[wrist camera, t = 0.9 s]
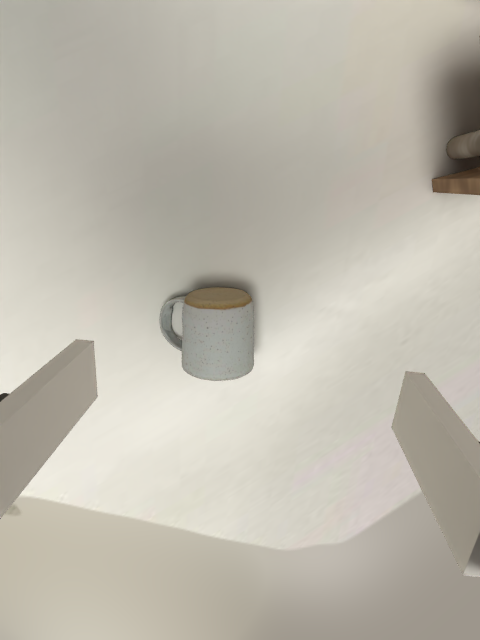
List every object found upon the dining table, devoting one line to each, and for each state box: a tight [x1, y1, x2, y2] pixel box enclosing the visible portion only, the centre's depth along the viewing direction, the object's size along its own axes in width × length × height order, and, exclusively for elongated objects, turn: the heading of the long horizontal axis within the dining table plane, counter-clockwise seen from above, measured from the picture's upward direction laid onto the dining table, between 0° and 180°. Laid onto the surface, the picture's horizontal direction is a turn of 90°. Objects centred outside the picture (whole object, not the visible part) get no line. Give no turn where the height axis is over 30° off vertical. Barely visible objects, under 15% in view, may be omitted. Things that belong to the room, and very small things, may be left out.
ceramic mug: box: [160, 287, 254, 381], centre depth 40 cm, size 11×8×8 cm
